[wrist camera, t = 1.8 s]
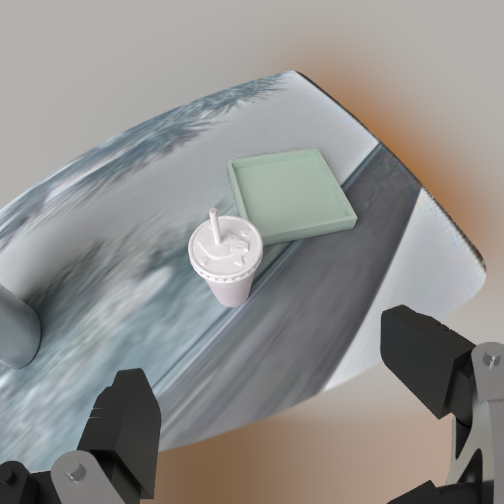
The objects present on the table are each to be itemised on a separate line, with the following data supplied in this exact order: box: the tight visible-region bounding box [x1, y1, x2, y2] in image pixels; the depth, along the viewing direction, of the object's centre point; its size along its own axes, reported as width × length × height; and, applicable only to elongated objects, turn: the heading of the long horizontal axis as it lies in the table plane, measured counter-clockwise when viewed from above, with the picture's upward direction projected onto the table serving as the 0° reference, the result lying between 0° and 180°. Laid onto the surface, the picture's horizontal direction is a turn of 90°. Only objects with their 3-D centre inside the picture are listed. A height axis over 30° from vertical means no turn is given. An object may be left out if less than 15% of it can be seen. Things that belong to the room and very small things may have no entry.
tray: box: [227, 148, 357, 247], centre depth 40 cm, size 14×14×2 cm
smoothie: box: [188, 207, 263, 307], centre depth 27 cm, size 6×6×14 cm
